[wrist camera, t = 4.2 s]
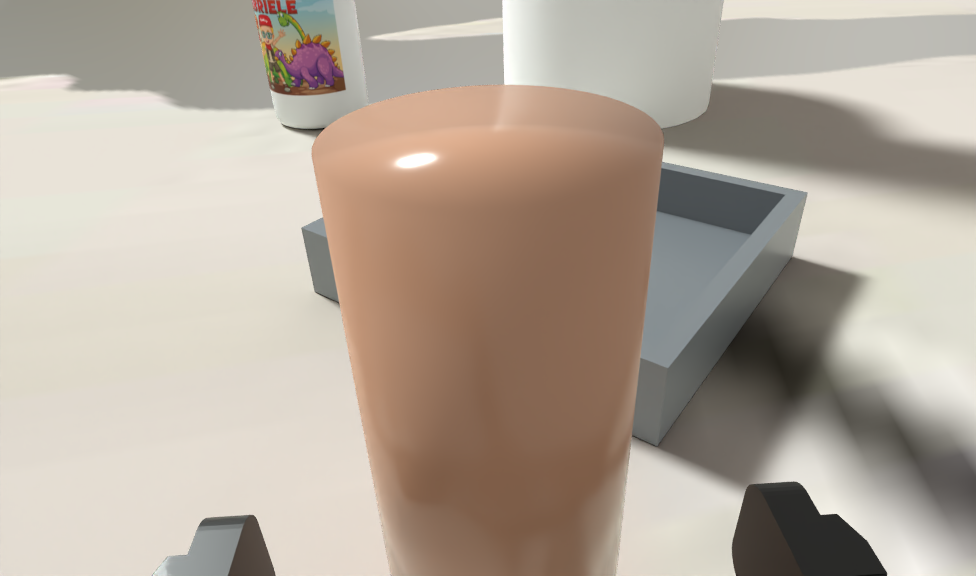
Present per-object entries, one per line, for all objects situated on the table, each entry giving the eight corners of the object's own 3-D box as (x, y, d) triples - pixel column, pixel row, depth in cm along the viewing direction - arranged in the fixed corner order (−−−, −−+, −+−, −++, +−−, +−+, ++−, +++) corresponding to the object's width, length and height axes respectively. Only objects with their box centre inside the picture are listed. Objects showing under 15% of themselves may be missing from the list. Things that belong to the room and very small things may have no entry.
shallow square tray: (314, 291, 32) (301, 227, 31) (504, 180, 43) (503, 128, 41) (657, 446, 23) (667, 368, 21) (792, 255, 34) (807, 192, 32)
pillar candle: (369, 680, 17) (236, 153, 9) (487, 542, 20) (461, 71, 13) (534, 823, 14) (535, 249, 7) (639, 636, 17) (719, 113, 10)
